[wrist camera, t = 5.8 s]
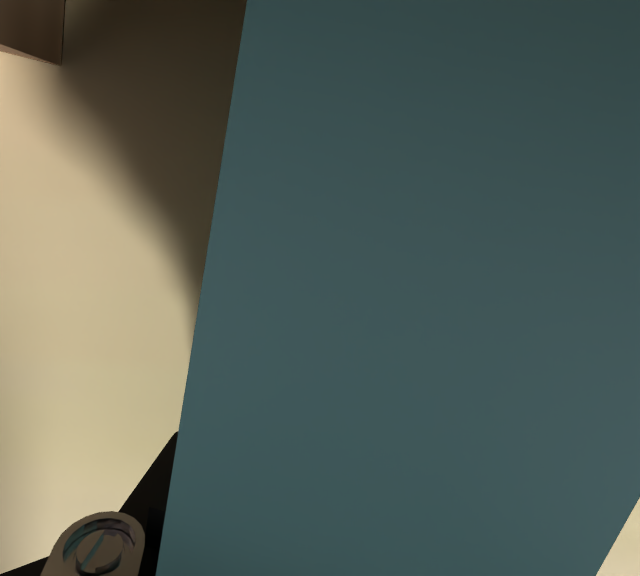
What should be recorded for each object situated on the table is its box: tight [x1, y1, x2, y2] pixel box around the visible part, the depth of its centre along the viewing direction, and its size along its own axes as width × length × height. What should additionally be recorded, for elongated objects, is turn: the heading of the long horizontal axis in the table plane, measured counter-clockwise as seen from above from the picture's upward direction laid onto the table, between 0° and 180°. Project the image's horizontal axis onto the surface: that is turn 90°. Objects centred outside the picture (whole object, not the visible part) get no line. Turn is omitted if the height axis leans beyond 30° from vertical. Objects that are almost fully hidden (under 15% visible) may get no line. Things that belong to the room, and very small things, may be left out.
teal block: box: [156, 0, 640, 576], centre depth 8 cm, size 14×5×6 cm, turn 167°
